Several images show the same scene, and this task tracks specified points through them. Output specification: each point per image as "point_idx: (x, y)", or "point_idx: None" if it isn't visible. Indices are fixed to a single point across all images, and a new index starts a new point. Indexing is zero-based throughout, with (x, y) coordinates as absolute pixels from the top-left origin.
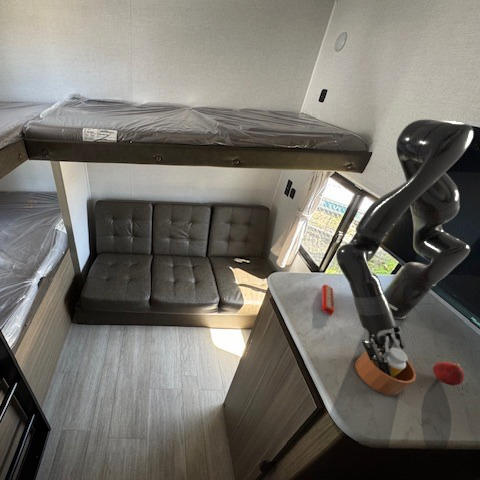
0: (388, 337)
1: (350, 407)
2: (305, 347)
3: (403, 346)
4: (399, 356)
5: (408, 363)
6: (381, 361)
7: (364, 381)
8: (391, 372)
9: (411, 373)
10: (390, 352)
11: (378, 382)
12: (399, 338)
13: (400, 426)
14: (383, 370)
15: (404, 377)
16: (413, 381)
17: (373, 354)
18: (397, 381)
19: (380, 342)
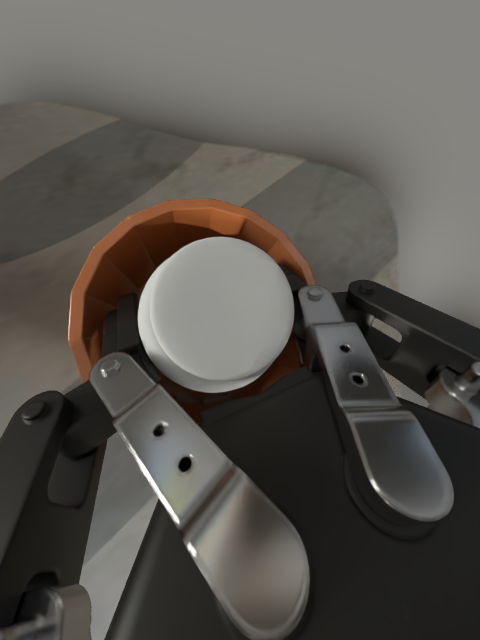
0: (386, 492)
1: (359, 241)
2: None
3: (42, 413)
4: (243, 280)
5: (84, 304)
6: (358, 283)
7: None
8: None
9: (116, 255)
10: (291, 327)
11: None
12: (28, 520)
13: (252, 177)
14: None
15: (127, 281)
16: (167, 201)
17: (182, 406)
18: (258, 218)
19: (424, 409)
